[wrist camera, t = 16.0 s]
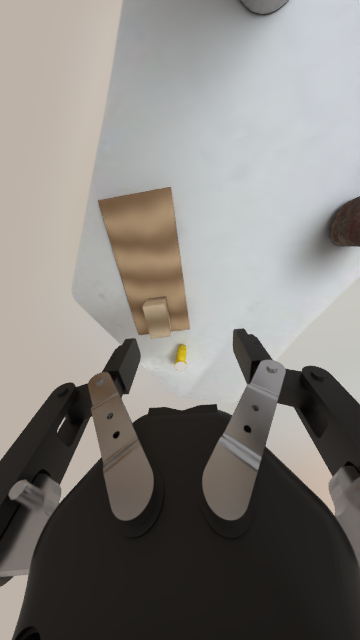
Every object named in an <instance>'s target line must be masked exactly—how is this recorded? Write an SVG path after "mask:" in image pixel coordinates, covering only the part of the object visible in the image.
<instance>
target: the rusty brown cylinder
mask: <svg viewBox="0 0 360 640" xmlns="http://www.w3.org/2000/svg"><path fill="white" fill-rule="evenodd" d="M331 239H332V241H333V242H334V243H335V244H336V245H338V246H360V197H357V198H355V199H353V200H352V201H350V202H349V203H347V204H346V205H345V206H344V207H343V208H342V209H341V210H340V211H339V212H338V214H337V215H336V217H335V219H334V222H333V224H332V227H331Z"/></svg>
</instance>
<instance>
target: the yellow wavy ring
mask: <svg viewBox="0 0 360 640" xmlns="http://www.w3.org/2000/svg"><path fill="white" fill-rule="evenodd" d="M185 359H186V346H184V345H180V346H179V350H178V354H177V358H176V362H175V369H176V370H178V371H184V370H185V369H186V368H187V364H186V362H185Z"/></svg>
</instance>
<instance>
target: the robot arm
mask: <svg viewBox="0 0 360 640" xmlns="http://www.w3.org/2000/svg"><path fill="white" fill-rule="evenodd" d="M241 1H242V2H243V4H244V5H245V6H246V7H247V8H249V9H250V10H251V11H253V12H256V13H259V14H265V13H270V12H273V11H275V10H277V9H279V8H280V7H281V6H283V5H284V4H285V3H286V2H287V1H288V0H241ZM233 351H234V354H235V356H236V359H237V361H238V363H239V366H240V368H241V371H242V373H243V375H244V378H245V380H246V382H247V386H246V388H245V390H244V393H243V395H242V397H241V399H240V401H239V403H238V405H237V407H236V409H235V412H234V413H233V415H230V414H228V413H226V412H223V411H220V410H218V409H217V404H213V405H200V406H196V407H193V408H189V409H186V410H183V411H181V410H176V409H171V408H166V407H161V408H149V412H148V414H147V415H144V416H142V417H140V418H139V419H137V420H136V421H135V422H133V423H132V421H131V419H130V417H129V415H128V413H127V410H126V408H125V406H124V403H123V402H122V399H121V398H122V395H123V394H129V391H130V388H131V385H132V383H133V380H134V377H135V374H136V371H137V368H138V365H139V362H140V358H141V355H140V350H139V347H138V344H137V341H136V339H135V338H132V339H125V341H124V343H123V344H122V345H121V346H119V347H118V348H117V349H115V351H114V353H113V354H112V356H111V358H110V359H109V361H108V363H107V364H106V366H105V368H104V370H103V371H102V373H99V374H97V375H95V376H94V377H92V378H91V379H90V381H89V383H88V384H85V385H82V386H79V387H76V386H75V385H74V383H65V384H63V385H61V386H59V387H58V388H56V389H55V390H54V391H53V392H52V393H51V395H50V396H49V397H48V399H47V400H46V401H45V403H44V404H43V405H42V407H41V408H40V409H39V410H38V412H37V413H36V414H35V416H34V417H33V418H32V420H31V421H30V422H29V424H28V425H27V426H26V428H25V429H24V430H23V432H22V433H21V434H20V436H19V437H18V438H17V440H16V441H15V442H14V443H13V445H12V446H11V448H10V449H9V450H8V451H7V453H6V454H5V455H4V457H3V458H2V459H1V461H0V586H3V585H4V584H6V583H7V582H8V581H9V580H10V579H11V578H13V576H17V575H27V574H29V575H28V581H27V587H26V592H25V596H24V601H23V605H22V608H21V612H20V615H19V619H18V622H17V625H16V629H15V632H14V635H13V638H12V640H360V404H359V403H358V402H357V401H356V400H355V399H354V398H353V397H352V396H351V395H350V394H349V393H348V392H347V391H346V390H345V388H344V387H342V386H341V384H340V383H339V382H338V381H337V380H336V379H335V378H334V377H333V376H332V375H331V374H330V373H329V372H327V371H326V370H324V369H322V368H319V367H316V366H306V367H304V368H303V369H302V372H301V371H295V370H289V369H285V368H284V366H283V365H282V364H280V363H279V362H277V361H274V360H272V358H271V357H270V355H269V354H268V353H267V351H266V350H265V348H264V347H263V345H262V344H261V343H260V341H259V340H258V338H257V337H255V336H254V335H252V334H247V332H246V331H245V329H234V331H233ZM277 403H280V404H284V405H288V406H292V407H294V408H295V410H296V412H297V414H298V415H299V417H300V419H301V421H302V423H303V424H304V426H305V428H306V430H307V432H308V433H309V435H310V437H311V439H312V440H313V442H314V444H315V446H316V448H317V449H318V451H319V453H320V455H321V456H322V458H323V460H324V462H325V464H326V465H327V467H328V469H329V471H330V472H331V474H332V476H333V477H332V479H331V480H330V482H329V491H330V495H331V497H332V500H333V503H334V506H335V516H334V515H333V513H332V512H331V511H330V510H329V508H328V507H327V506H326V505H325V503H324V502H323V501H322V500H321V499H320V498H319V497H318V496H317V495H316V494H315V493H313V492H312V491H311V490H310V489H309V488H308V487H307V486H306V485H305V484H304V483H303V482H302V481H301V480H300V479H299V478H298V477H297V476H296V475H295V474H294V473H293V472H292V471H291V470H289V468H287V467H286V466H285V465H284V464H283V463H282V462H281V461H280V460H279V459H278V458H277V457H276V456H275V455H274V454H273V453H272V452H271V451H270V450H269V449H268V448H266V446H265V445H266V441H267V438H268V434H269V431H270V427H271V423H272V420H273V416H274V413H275V409H276V405H277ZM91 416H93V420H94V425H95V429H96V433H97V438H98V442H99V447H100V451H101V456H102V457H101V458H100V460H98V462H97V463H96V464H95V465H94V466H93V467H92V468H91V469H90V470H89V471H88V473H87V474H86V475H85V476H84V477H83V478H82V479H81V480H80V481H79V483H78V484H77V485H76V486H75V487H74V488H73V489H72V490H71V491H70V492H69V494H68V495H67V496H66V497H65V498H64V499H63V500H62V501H61V503H59V500H60V497H61V487H60V483H61V481H62V479H63V477H64V474H65V472H66V470H67V468H68V466H69V463H70V461H71V459H72V456H73V454H74V452H75V450H76V448H77V446H78V443H79V441H80V438H81V437H82V434H83V432H84V430H85V428H86V425H87V423H88V421H89V419H90V417H91ZM64 417H65V418H66V419H65V421H64V422H63V424H62V426H61V428H60V429H59V431H58V433H57V429H58V427H59V425H60V424H61V422H62V420H63V419H64Z"/></svg>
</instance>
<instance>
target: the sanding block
mask: <svg viewBox="0 0 360 640" xmlns="http://www.w3.org/2000/svg"><path fill="white" fill-rule="evenodd" d="M143 311H144V315H145V319H146V322H147V326H148V330H149V334H150V338H160V337H169V336H170V333H171V320H170V315H169V309H168V304H167V299H166V296H165V297H157V298H149V299H147V300H146V302H145V303H144V305H143Z"/></svg>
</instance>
